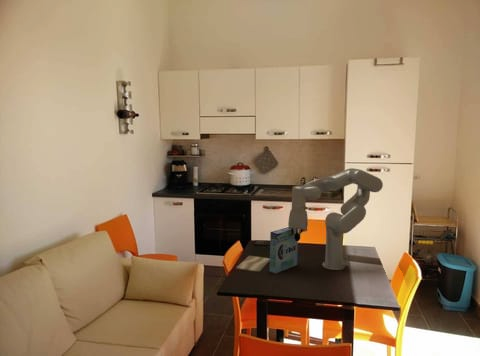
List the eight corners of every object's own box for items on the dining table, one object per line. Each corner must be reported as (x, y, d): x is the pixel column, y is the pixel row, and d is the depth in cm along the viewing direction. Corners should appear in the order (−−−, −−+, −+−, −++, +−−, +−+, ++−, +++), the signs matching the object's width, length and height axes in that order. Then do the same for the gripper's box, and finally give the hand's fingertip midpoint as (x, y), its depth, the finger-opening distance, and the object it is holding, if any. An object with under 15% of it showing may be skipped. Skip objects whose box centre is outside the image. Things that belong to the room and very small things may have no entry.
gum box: (290, 263, 220) (291, 225, 217) (297, 265, 216) (298, 227, 213) (269, 271, 206) (269, 231, 203) (276, 274, 203) (276, 233, 200)
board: (270, 259, 225) (270, 258, 225) (259, 272, 205) (259, 271, 205) (249, 256, 230) (249, 255, 230) (235, 268, 210) (235, 267, 210)
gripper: (313, 208, 205) (311, 240, 207) (286, 205, 210) (285, 237, 212) (310, 210, 198) (309, 244, 200) (283, 208, 203) (282, 240, 205)
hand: (297, 240), depth 206 cm, fingers closed
